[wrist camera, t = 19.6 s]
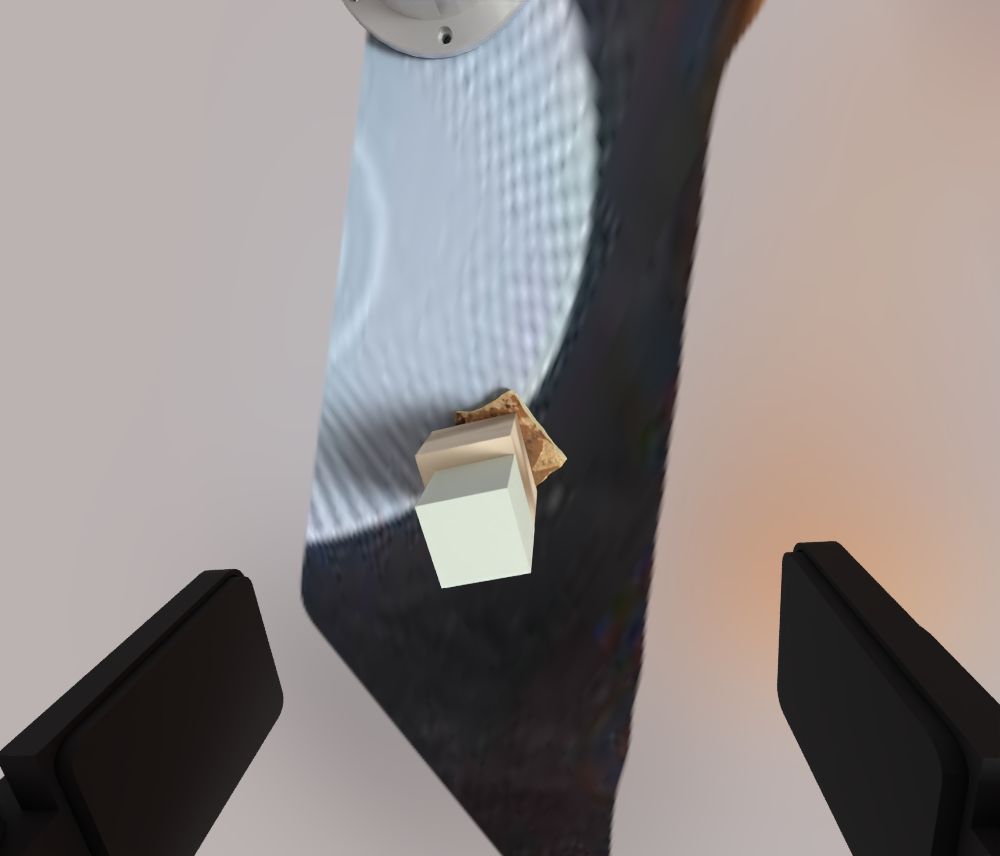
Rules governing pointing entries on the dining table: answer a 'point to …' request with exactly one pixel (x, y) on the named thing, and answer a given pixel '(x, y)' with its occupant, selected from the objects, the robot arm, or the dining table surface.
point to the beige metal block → (478, 449)
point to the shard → (536, 440)
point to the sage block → (477, 522)
